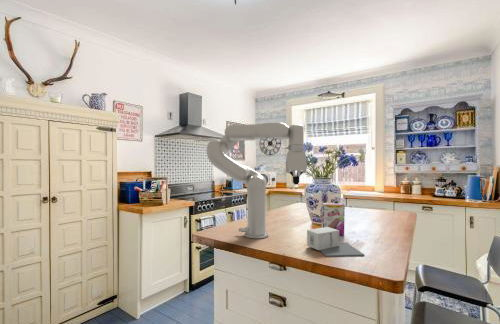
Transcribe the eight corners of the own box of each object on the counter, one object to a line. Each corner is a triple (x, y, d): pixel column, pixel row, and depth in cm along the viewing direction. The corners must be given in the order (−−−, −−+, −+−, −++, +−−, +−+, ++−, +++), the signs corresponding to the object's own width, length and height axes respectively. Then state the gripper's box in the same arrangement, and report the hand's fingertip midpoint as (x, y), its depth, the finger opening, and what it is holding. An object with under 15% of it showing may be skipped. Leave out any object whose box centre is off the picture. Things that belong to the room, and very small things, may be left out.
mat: (325, 256, 104) (325, 255, 104) (313, 244, 120) (313, 243, 120) (364, 255, 105) (364, 254, 105) (346, 244, 121) (346, 242, 121)
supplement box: (318, 233, 109) (339, 229, 115) (306, 229, 116) (327, 226, 122) (318, 250, 109) (339, 246, 115) (306, 246, 116) (327, 242, 122)
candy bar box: (323, 235, 136) (323, 204, 136) (321, 233, 141) (321, 202, 141) (344, 236, 135) (344, 204, 135) (342, 233, 140) (342, 203, 140)
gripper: (283, 148, 129) (283, 184, 129) (312, 148, 130) (312, 184, 130) (280, 149, 136) (280, 183, 136) (308, 149, 137) (308, 183, 137)
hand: (296, 184), depth 133 cm, fingers closed
